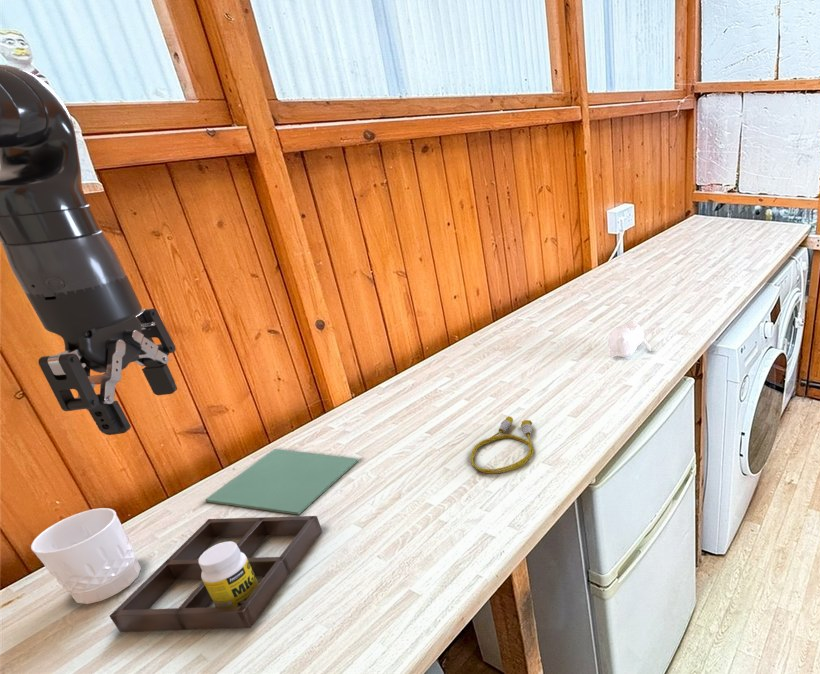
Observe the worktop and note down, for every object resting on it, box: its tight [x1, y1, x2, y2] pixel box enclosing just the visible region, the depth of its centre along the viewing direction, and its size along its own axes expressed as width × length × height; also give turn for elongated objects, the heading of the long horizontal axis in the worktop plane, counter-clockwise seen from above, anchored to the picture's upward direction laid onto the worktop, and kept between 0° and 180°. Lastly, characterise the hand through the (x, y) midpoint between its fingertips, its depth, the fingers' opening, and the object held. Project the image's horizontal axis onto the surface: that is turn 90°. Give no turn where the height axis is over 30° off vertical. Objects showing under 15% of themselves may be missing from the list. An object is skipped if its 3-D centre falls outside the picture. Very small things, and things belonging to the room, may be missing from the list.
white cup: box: [30, 507, 142, 605], centre depth 70 cm, size 8×8×10 cm
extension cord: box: [470, 415, 534, 474], centre depth 98 cm, size 12×16×2 cm
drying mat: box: [205, 448, 359, 516], centre depth 91 cm, size 18×14×1 cm
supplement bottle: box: [198, 541, 259, 607], centre depth 68 cm, size 5×5×8 cm
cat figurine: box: [607, 320, 652, 358], centre depth 134 cm, size 9×11×12 cm
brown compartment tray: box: [109, 515, 323, 633], centre depth 72 cm, size 16×16×3 cm
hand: (144, 411), depth 61 cm, fingers open, 8 cm apart
